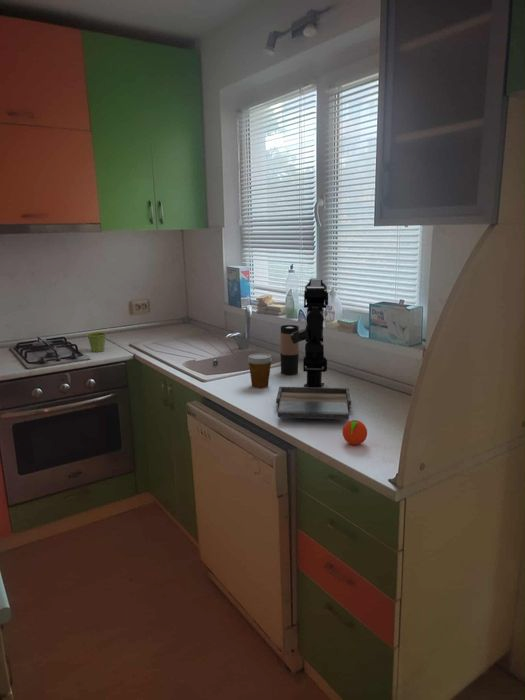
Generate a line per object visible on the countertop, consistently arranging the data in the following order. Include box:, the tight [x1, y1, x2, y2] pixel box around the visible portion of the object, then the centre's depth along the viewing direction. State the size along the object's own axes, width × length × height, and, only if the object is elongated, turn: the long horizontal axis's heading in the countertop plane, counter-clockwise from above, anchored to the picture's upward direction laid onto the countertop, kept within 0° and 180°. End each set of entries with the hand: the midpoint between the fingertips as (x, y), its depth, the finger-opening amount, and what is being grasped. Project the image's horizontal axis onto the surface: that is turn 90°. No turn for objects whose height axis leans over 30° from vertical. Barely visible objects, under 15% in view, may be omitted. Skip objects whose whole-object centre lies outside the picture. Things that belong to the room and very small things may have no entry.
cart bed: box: [275, 386, 352, 413], centre depth 179 cm, size 14×25×4 cm, turn 84°
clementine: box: [341, 419, 368, 446], centre depth 145 cm, size 8×7×7 cm
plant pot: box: [86, 331, 107, 353], centre depth 260 cm, size 9×9×9 cm
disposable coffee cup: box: [247, 353, 273, 389], centre depth 200 cm, size 10×10×12 cm
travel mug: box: [279, 324, 300, 376], centre depth 217 cm, size 8×8×20 cm
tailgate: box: [277, 401, 350, 420], centre depth 166 cm, size 2×22×12 cm
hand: (314, 365), depth 184 cm, fingers closed
